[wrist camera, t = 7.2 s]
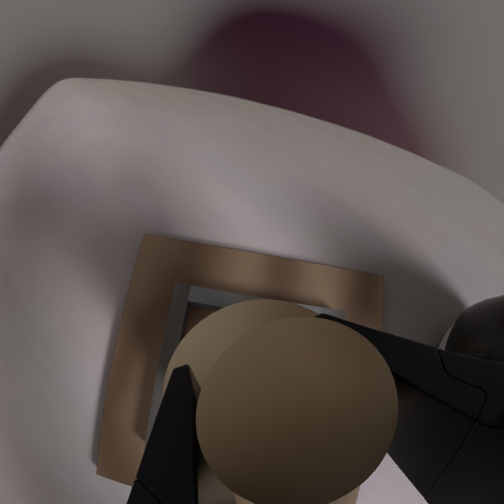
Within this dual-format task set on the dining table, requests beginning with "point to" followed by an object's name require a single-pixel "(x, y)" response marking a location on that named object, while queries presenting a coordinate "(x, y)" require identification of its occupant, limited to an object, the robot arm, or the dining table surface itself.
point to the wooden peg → (288, 402)
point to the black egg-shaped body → (478, 331)
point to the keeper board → (195, 310)
